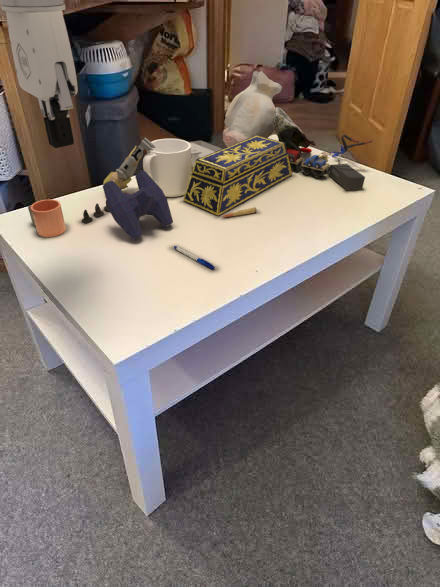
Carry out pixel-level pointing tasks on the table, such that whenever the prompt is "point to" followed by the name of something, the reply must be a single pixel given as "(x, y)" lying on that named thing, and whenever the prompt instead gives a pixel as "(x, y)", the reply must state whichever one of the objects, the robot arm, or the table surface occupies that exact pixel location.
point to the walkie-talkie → (346, 176)
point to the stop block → (31, 215)
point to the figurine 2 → (343, 150)
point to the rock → (289, 131)
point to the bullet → (241, 212)
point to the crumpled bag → (251, 111)
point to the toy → (129, 165)
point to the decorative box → (237, 173)
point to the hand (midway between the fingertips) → (61, 144)
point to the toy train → (308, 163)
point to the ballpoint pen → (195, 258)
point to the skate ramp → (201, 150)
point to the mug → (169, 165)
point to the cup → (48, 218)
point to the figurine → (137, 204)
